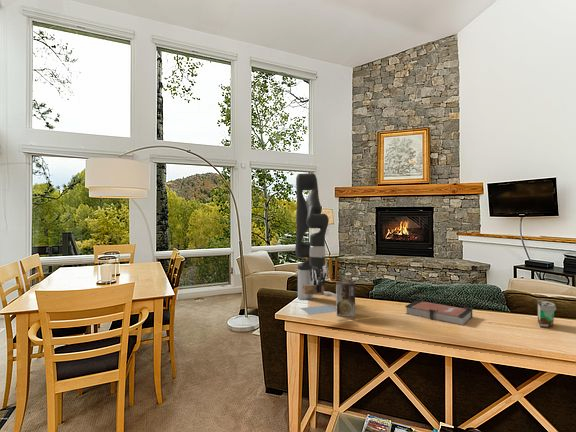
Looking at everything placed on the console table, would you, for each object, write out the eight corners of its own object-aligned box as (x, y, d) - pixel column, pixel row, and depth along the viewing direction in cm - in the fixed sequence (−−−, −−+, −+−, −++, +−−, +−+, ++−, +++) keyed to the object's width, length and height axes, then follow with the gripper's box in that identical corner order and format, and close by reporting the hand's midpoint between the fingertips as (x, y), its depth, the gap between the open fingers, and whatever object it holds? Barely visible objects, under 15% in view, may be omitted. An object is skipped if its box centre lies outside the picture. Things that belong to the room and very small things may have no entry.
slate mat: (300, 309, 174) (300, 308, 174) (330, 305, 181) (330, 304, 181) (310, 315, 163) (310, 314, 163) (341, 311, 170) (341, 310, 170)
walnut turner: (306, 295, 152) (307, 286, 152) (300, 291, 158) (301, 283, 159) (336, 296, 158) (337, 288, 158) (329, 293, 164) (330, 285, 165)
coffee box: (354, 313, 167) (354, 281, 167) (355, 317, 160) (355, 284, 160) (335, 313, 168) (335, 281, 168) (336, 316, 161) (336, 283, 161)
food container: (558, 331, 142) (558, 307, 142) (540, 328, 145) (540, 305, 145) (554, 323, 152) (554, 301, 152) (537, 320, 155) (537, 299, 155)
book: (404, 315, 166) (404, 305, 166) (418, 307, 179) (418, 298, 179) (462, 327, 148) (462, 315, 148) (472, 318, 161) (472, 307, 161)
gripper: (304, 254, 163) (304, 289, 163) (317, 257, 150) (317, 295, 150) (317, 253, 166) (317, 288, 166) (331, 256, 153) (331, 294, 153)
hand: (317, 291), depth 158 cm, fingers closed on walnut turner, 3 cm apart
